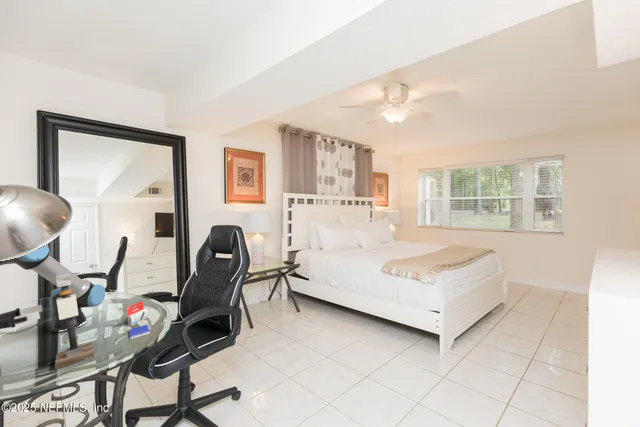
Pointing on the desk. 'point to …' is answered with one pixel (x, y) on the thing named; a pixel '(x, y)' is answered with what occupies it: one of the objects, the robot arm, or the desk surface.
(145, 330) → the hard drive
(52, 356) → the desk surface
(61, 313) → the sleeve
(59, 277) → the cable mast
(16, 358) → the desk surface
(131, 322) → the ink cartridge box
